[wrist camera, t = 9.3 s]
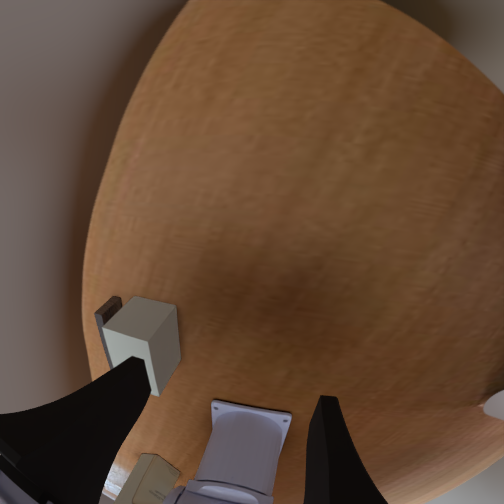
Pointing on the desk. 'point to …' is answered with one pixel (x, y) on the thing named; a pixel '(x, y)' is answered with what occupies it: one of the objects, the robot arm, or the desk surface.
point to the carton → (146, 338)
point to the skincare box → (148, 481)
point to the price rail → (104, 316)
